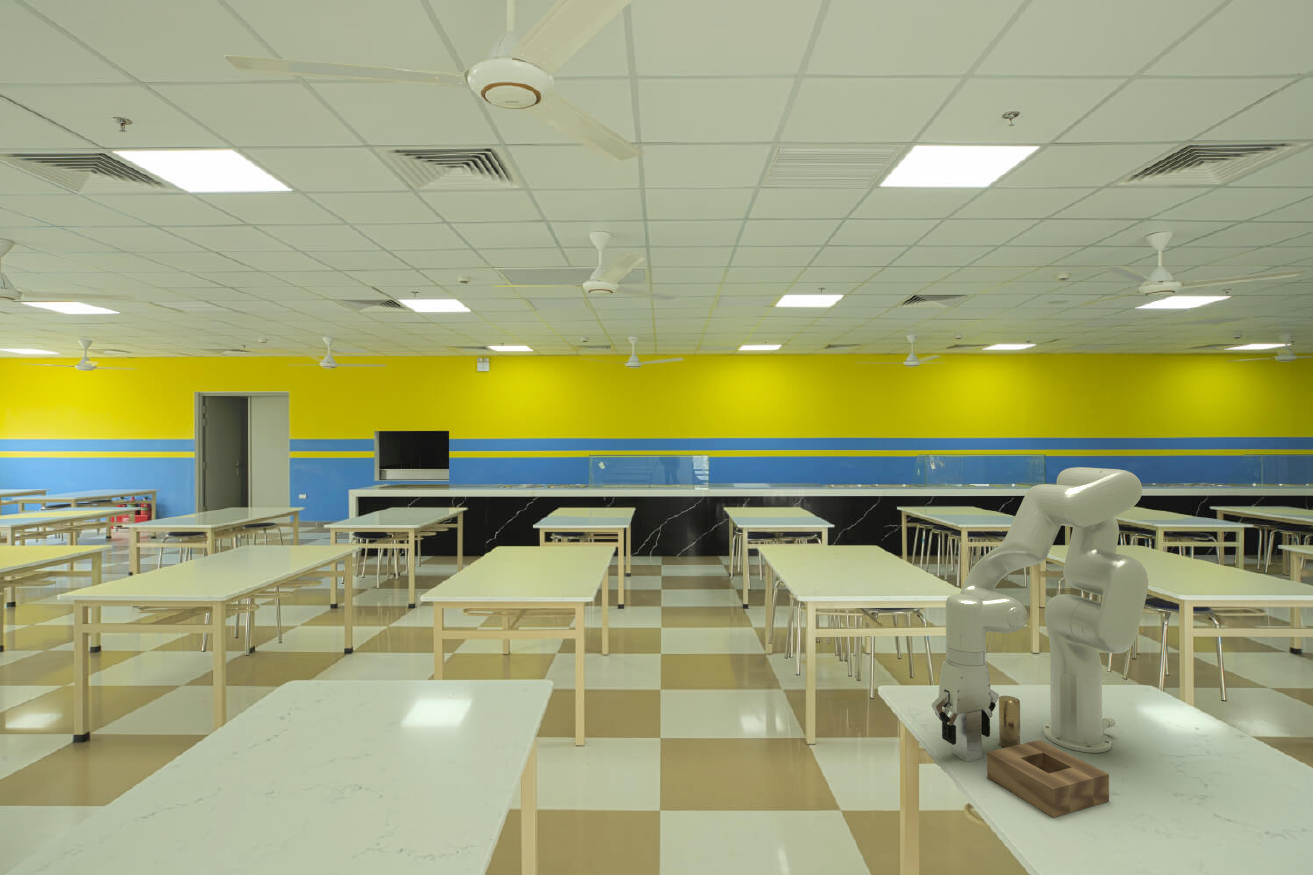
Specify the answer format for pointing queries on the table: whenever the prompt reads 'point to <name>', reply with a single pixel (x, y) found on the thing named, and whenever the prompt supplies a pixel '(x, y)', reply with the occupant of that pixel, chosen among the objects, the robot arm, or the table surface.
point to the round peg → (1009, 721)
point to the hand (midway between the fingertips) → (966, 737)
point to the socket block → (1048, 777)
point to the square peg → (968, 736)
